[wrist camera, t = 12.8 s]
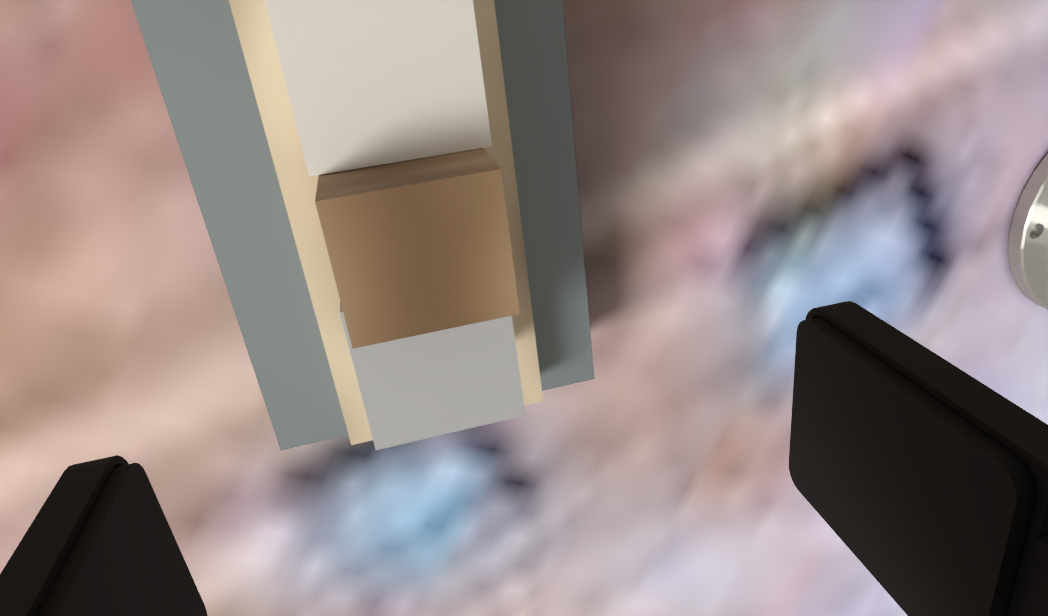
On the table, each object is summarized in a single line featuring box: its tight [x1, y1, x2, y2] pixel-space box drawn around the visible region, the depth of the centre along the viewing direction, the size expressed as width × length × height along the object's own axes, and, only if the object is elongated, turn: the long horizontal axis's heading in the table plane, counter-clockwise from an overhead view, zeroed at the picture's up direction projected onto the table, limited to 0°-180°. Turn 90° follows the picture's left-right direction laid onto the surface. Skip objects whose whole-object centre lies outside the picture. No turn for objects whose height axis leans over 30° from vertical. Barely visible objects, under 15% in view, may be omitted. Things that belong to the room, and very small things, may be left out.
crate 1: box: [265, 0, 492, 176], centre depth 20 cm, size 5×5×5 cm
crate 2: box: [340, 301, 526, 450], centre depth 24 cm, size 5×5×5 cm
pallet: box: [229, 0, 543, 445], centre depth 22 cm, size 8×20×10 cm, turn 6°
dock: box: [131, 0, 594, 450], centre depth 28 cm, size 14×22×4 cm, turn 7°
